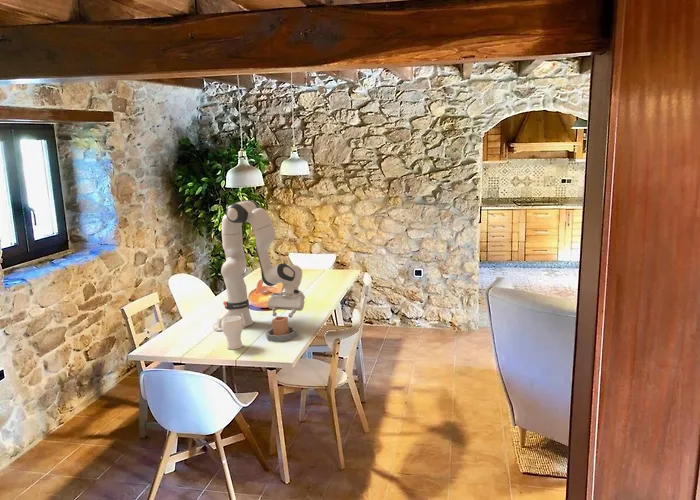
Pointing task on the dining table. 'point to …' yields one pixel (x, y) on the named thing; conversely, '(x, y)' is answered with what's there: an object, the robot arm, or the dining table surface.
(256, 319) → the dining table surface
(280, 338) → the dish
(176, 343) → the dining table surface
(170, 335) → the dining table surface
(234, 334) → the cup
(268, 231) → the robot arm
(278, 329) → the pot
